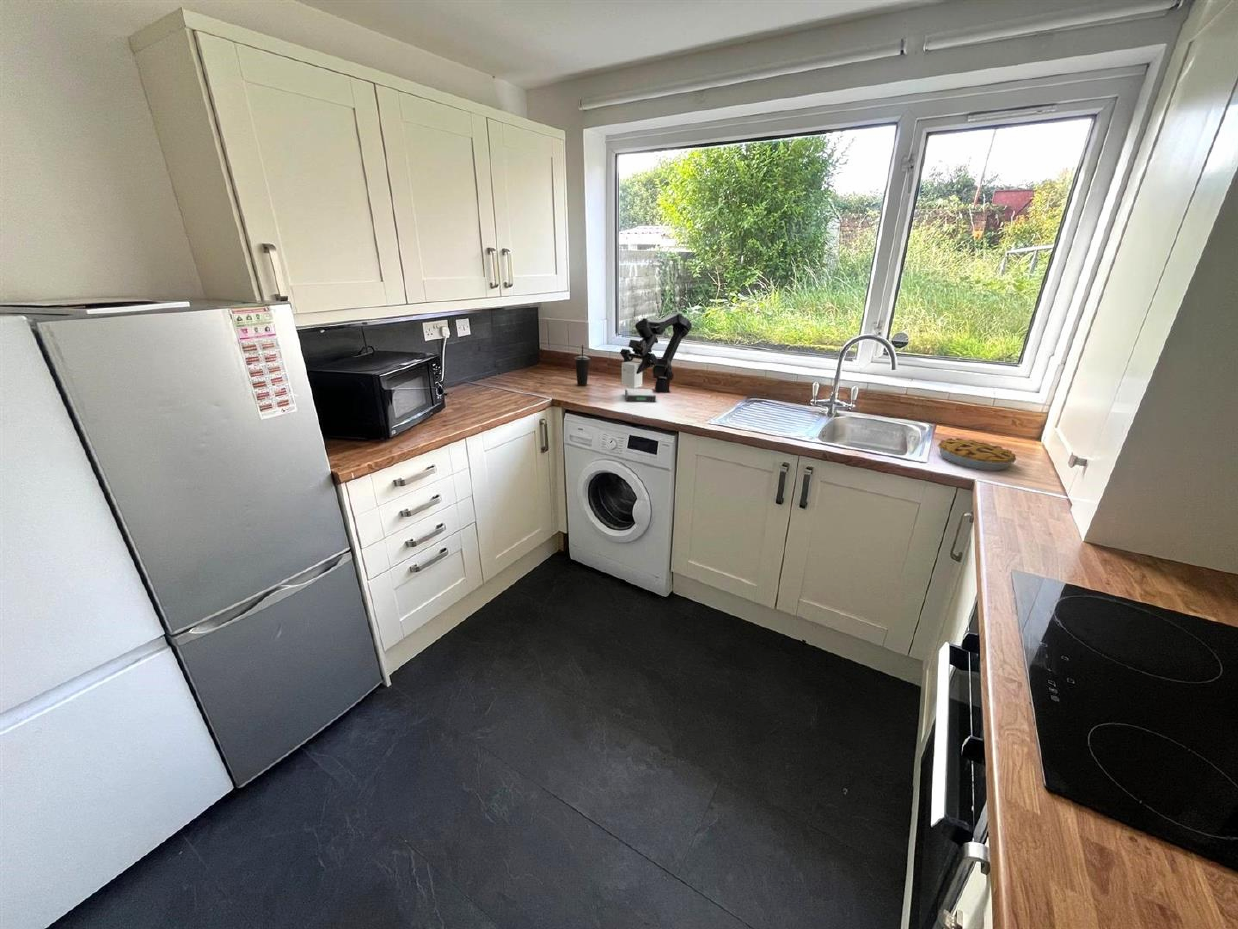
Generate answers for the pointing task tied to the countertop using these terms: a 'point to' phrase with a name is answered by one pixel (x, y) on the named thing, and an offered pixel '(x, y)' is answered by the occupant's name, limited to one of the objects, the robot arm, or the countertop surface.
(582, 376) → the drinking cup
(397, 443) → the countertop surface
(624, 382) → the small box
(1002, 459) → the pie
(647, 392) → the kitchen scale
